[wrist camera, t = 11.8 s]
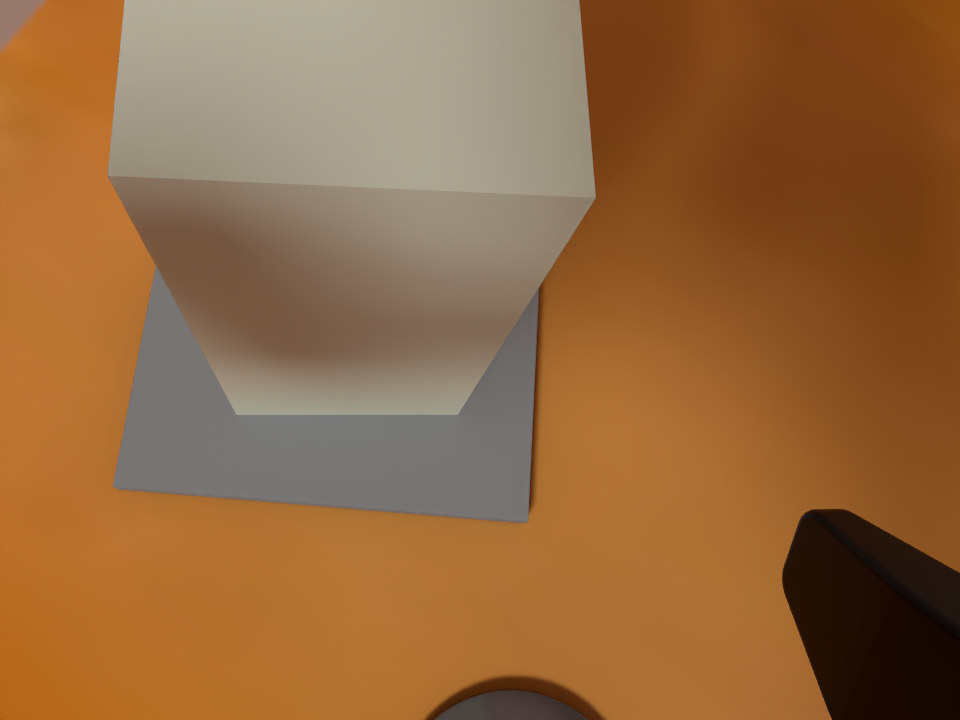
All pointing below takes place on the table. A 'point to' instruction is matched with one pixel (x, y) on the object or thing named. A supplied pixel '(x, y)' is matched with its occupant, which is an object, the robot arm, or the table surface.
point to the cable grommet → (509, 707)
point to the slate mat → (327, 437)
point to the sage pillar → (352, 186)
